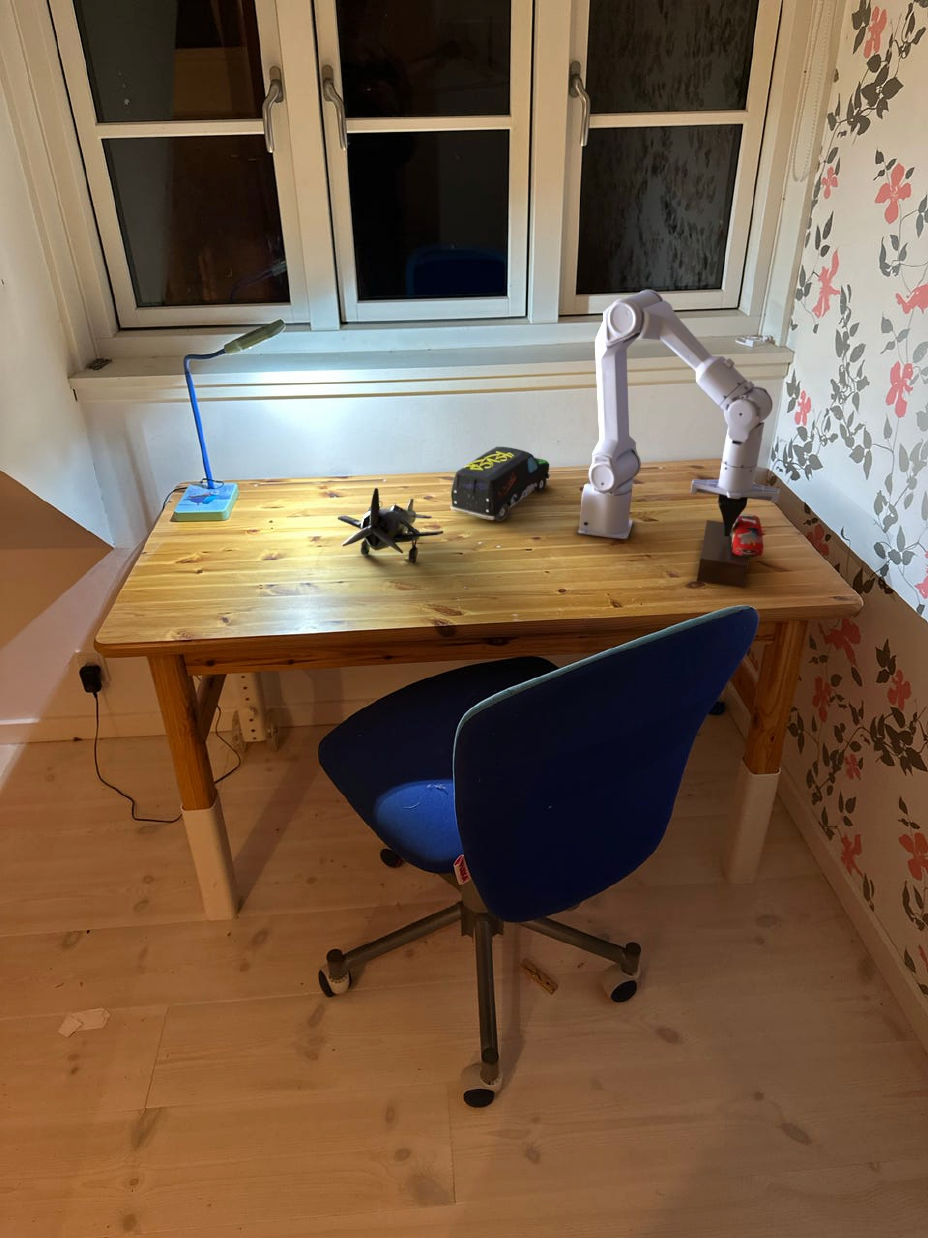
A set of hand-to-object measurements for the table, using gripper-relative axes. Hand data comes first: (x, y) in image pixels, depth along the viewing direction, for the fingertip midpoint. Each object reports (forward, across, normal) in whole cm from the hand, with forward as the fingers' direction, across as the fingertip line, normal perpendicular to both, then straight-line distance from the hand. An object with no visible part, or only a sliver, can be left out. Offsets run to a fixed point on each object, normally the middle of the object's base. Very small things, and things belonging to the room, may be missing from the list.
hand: (726, 533), depth 149 cm
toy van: (+6, -46, +15) cm, 49 cm away
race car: (+2, +3, 0) cm, 4 cm away
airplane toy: (+6, -59, -13) cm, 61 cm away
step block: (+6, 0, 0) cm, 6 cm away
